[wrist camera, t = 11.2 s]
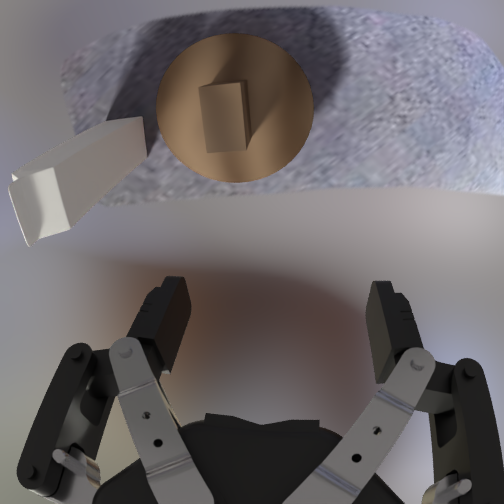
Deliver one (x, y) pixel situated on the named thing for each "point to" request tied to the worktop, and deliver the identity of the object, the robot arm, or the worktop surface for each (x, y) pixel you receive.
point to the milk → (75, 176)
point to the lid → (234, 107)
